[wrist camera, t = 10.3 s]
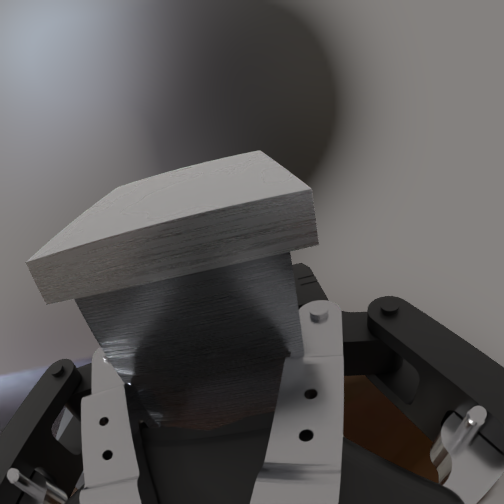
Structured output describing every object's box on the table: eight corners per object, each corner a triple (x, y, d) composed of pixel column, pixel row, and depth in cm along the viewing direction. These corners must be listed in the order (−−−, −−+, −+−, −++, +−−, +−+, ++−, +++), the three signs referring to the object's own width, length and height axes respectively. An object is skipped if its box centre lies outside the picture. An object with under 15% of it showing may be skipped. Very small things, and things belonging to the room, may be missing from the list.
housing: (196, 491, 9) (25, 262, 5) (197, 385, 15) (118, 186, 11) (329, 470, 9) (311, 188, 5) (297, 365, 15) (259, 150, 11)
